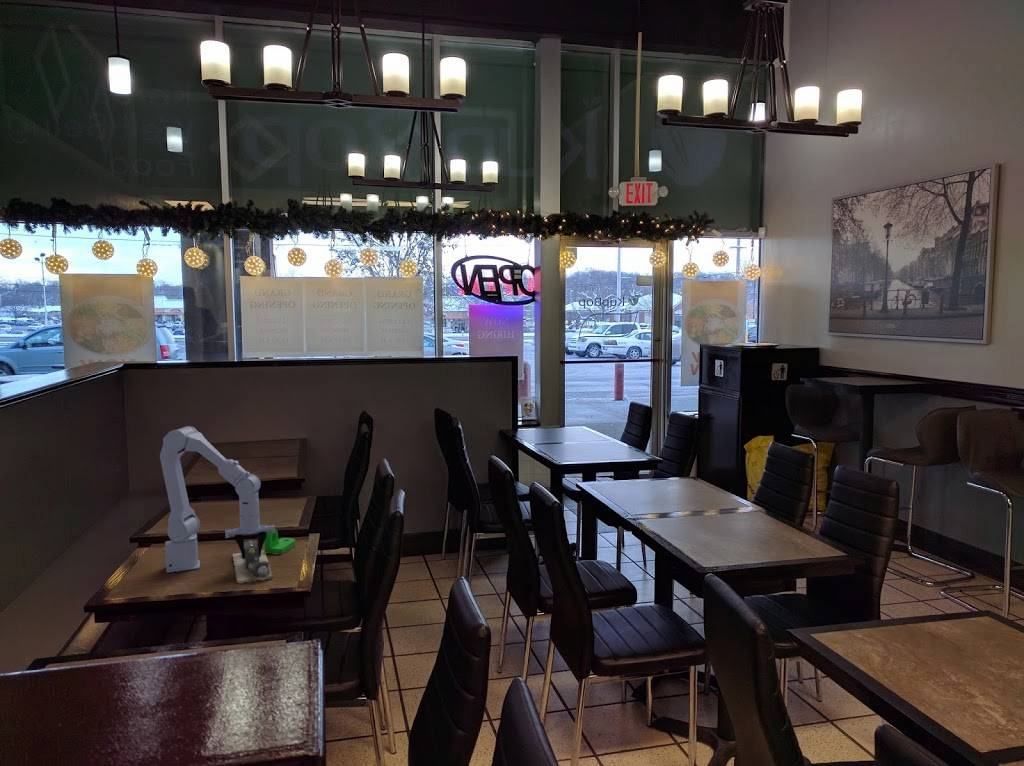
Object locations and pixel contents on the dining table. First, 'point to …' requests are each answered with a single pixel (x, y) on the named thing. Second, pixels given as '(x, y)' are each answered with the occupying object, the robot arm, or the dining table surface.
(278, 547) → the mechanical part
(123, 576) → the dining table surface
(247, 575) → the board
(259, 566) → the angled shaft
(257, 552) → the grey slotted block
